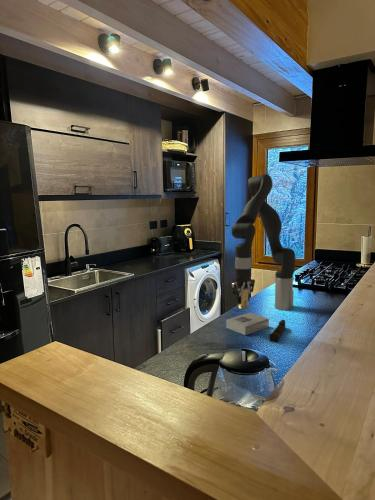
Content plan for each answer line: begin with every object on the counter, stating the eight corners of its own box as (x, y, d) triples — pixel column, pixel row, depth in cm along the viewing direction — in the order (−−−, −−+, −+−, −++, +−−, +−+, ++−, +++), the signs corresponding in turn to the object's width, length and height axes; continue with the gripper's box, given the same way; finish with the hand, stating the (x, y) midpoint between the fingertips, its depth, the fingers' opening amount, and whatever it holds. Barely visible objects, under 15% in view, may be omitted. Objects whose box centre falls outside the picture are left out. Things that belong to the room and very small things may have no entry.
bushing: (242, 305, 166) (242, 286, 164) (250, 307, 162) (250, 288, 160) (235, 307, 163) (235, 288, 161) (243, 309, 159) (243, 290, 158)
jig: (249, 320, 173) (249, 312, 173) (268, 326, 164) (268, 318, 163) (226, 327, 164) (226, 319, 163) (245, 335, 154) (245, 326, 154)
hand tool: (278, 343, 145) (278, 333, 145) (268, 341, 148) (269, 331, 147) (290, 329, 162) (290, 319, 161) (281, 327, 164) (281, 318, 163)
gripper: (248, 263, 167) (247, 298, 169) (226, 267, 158) (226, 303, 161) (260, 265, 161) (259, 301, 163) (237, 270, 152) (237, 307, 155)
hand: (242, 302), depth 162 cm, fingers closed on bushing, 4 cm apart
